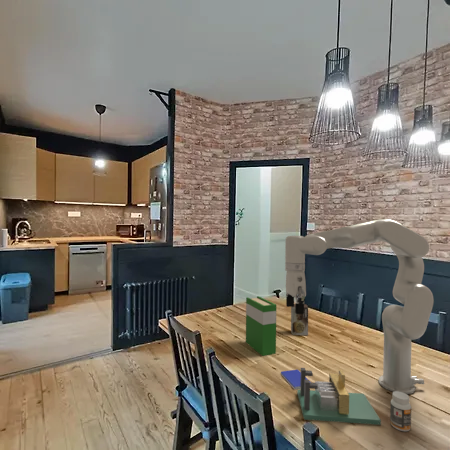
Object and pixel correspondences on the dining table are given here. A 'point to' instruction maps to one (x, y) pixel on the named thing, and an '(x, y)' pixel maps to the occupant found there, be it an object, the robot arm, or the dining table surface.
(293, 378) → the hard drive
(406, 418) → the pill bottle
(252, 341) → the hardback book
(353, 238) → the robot arm
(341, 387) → the tan notched block
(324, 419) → the board
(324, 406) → the heatsink
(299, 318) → the coffee box
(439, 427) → the dining table surface
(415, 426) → the dining table surface
